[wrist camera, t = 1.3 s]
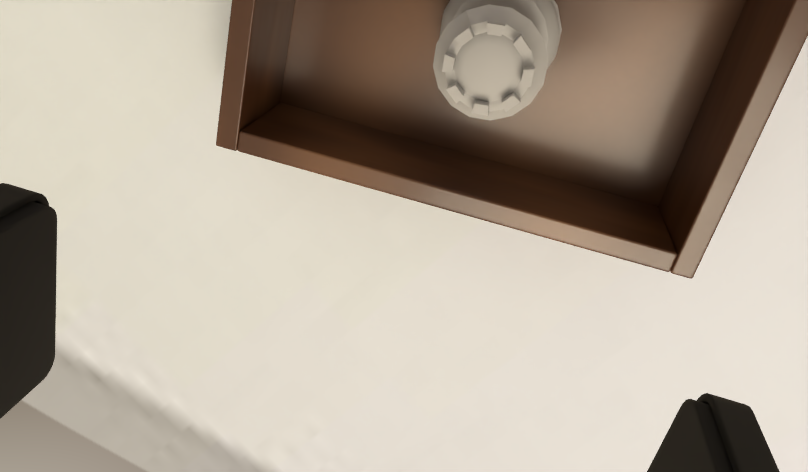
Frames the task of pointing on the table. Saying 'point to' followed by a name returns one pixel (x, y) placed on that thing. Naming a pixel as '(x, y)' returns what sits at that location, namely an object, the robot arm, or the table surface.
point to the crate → (524, 114)
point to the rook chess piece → (495, 54)
